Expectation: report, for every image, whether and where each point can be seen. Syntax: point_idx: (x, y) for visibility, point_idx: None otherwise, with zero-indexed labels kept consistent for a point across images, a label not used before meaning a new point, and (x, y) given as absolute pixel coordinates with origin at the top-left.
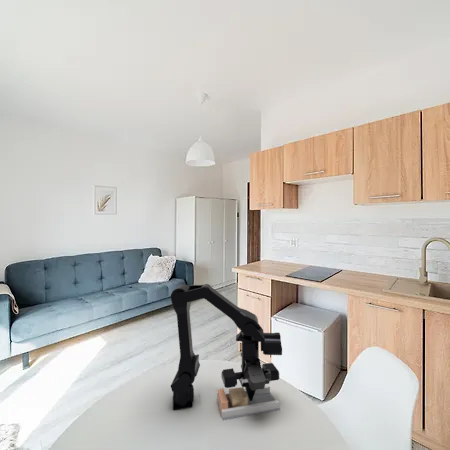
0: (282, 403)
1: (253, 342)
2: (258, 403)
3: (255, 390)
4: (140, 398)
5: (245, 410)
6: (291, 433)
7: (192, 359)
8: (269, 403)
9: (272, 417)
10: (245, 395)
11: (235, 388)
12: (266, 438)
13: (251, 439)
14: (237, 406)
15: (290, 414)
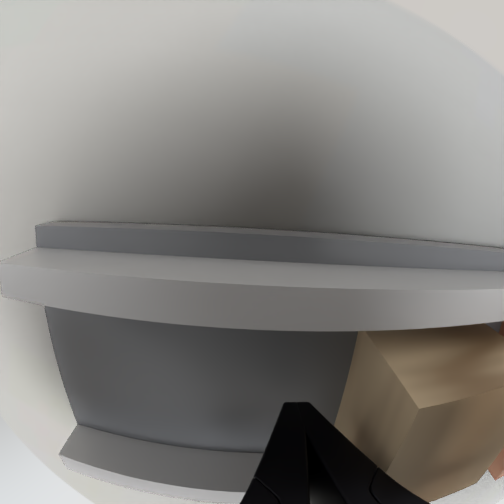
0: (20, 315)
1: None
2: (244, 327)
3: (251, 495)
4: None
5: (428, 280)
6: (81, 25)
7: None
8: (92, 281)
9: (131, 196)
10: (421, 434)
11: (429, 500)
12: (294, 9)
13: (412, 49)
14: (470, 341)
15: (3, 196)
